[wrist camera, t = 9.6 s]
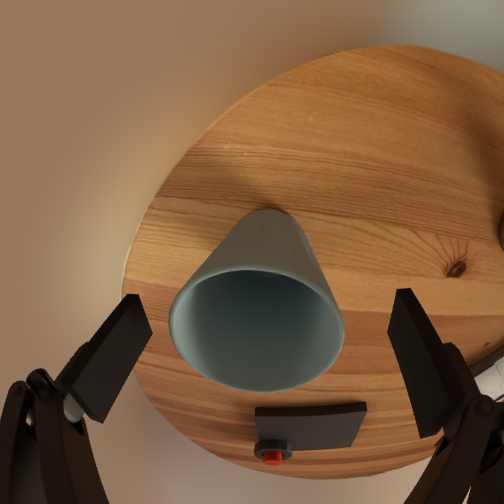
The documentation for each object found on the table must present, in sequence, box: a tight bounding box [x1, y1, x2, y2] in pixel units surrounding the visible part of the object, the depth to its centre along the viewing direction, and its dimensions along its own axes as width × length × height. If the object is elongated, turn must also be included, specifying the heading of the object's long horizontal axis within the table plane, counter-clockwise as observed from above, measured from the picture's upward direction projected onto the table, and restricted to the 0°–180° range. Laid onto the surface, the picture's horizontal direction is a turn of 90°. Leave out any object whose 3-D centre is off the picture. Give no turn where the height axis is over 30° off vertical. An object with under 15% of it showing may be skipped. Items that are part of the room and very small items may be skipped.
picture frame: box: [469, 346, 504, 402], centre depth 25 cm, size 13×2×18 cm
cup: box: [169, 209, 345, 393], centre depth 16 cm, size 8×8×10 cm
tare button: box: [263, 452, 282, 465], centre depth 31 cm, size 3×3×2 cm
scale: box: [254, 402, 367, 460], centre depth 31 cm, size 15×13×3 cm
